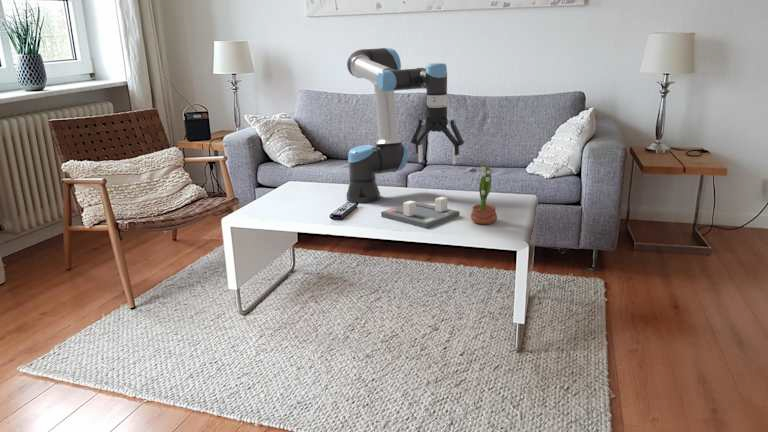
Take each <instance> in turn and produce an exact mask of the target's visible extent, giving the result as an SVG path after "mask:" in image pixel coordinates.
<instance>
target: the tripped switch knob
mask: <svg viewBox="0 0 768 432" xmlns="http://www.w3.org/2000/svg"><path fill="white" fill-rule="evenodd" d="M416 202H417V201H415V200H407V201H404V202H403V204H402V205H403V211H404V215H406V216H412V215H415V214H416Z"/></svg>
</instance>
